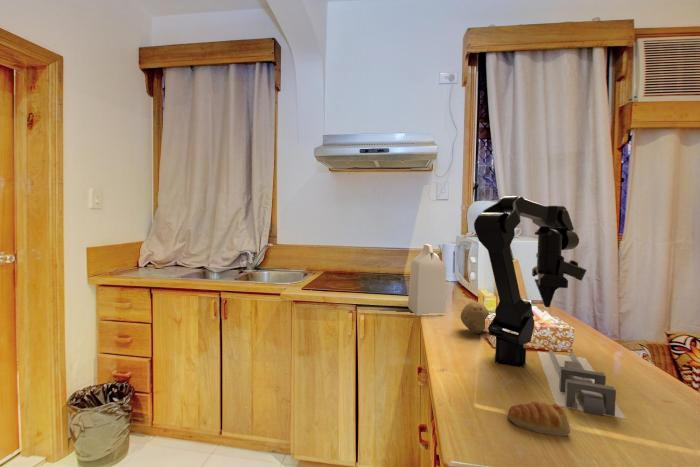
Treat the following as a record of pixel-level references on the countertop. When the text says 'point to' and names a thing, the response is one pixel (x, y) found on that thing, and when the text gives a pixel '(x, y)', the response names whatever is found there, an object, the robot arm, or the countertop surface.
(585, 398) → the long grey bar
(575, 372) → the base with arch frames
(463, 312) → the brown coconut
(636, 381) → the countertop surface
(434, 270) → the milk
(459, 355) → the countertop surface
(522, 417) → the pastry
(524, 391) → the countertop surface
